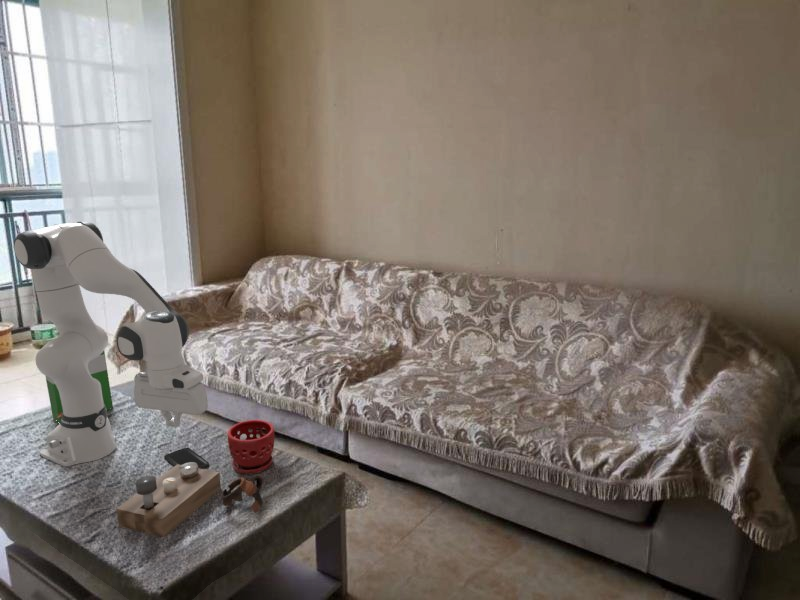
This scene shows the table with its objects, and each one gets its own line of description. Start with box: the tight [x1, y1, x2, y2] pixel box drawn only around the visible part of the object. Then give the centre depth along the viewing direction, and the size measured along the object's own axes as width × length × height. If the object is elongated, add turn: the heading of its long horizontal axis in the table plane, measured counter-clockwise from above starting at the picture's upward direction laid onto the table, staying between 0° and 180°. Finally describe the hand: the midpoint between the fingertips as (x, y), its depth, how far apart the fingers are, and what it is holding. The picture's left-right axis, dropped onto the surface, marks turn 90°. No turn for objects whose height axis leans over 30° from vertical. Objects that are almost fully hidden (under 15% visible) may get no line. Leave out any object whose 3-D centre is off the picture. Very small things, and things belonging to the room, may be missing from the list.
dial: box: [163, 478, 177, 493], centre depth 149 cm, size 3×3×3 cm
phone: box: [163, 447, 210, 469], centre depth 173 cm, size 8×1×15 cm
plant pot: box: [227, 419, 275, 475], centre depth 168 cm, size 13×13×12 cm
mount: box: [115, 464, 222, 538], centre depth 150 cm, size 14×22×5 cm, turn 161°
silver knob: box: [180, 462, 199, 479], centre depth 156 cm, size 5×5×7 cm
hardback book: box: [45, 350, 114, 424], centre depth 205 cm, size 18×7×24 cm, turn 137°
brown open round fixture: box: [220, 473, 264, 513], centre depth 151 cm, size 12×10×8 cm
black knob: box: [134, 475, 157, 508], centre depth 142 cm, size 5×5×7 cm
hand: (173, 425), depth 149 cm, fingers closed
